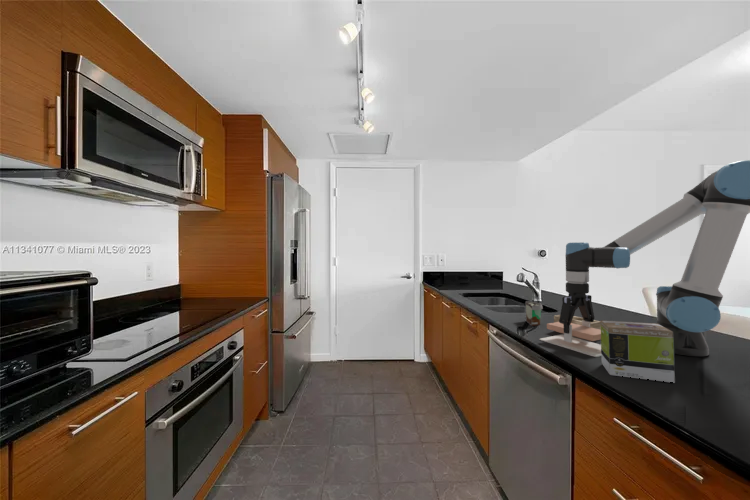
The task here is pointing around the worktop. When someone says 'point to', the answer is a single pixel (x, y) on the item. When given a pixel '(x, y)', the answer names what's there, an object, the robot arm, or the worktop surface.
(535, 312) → the food container
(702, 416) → the worktop surface
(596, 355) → the grey mat
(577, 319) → the birch box
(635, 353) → the tea box
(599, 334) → the peach flat tile
